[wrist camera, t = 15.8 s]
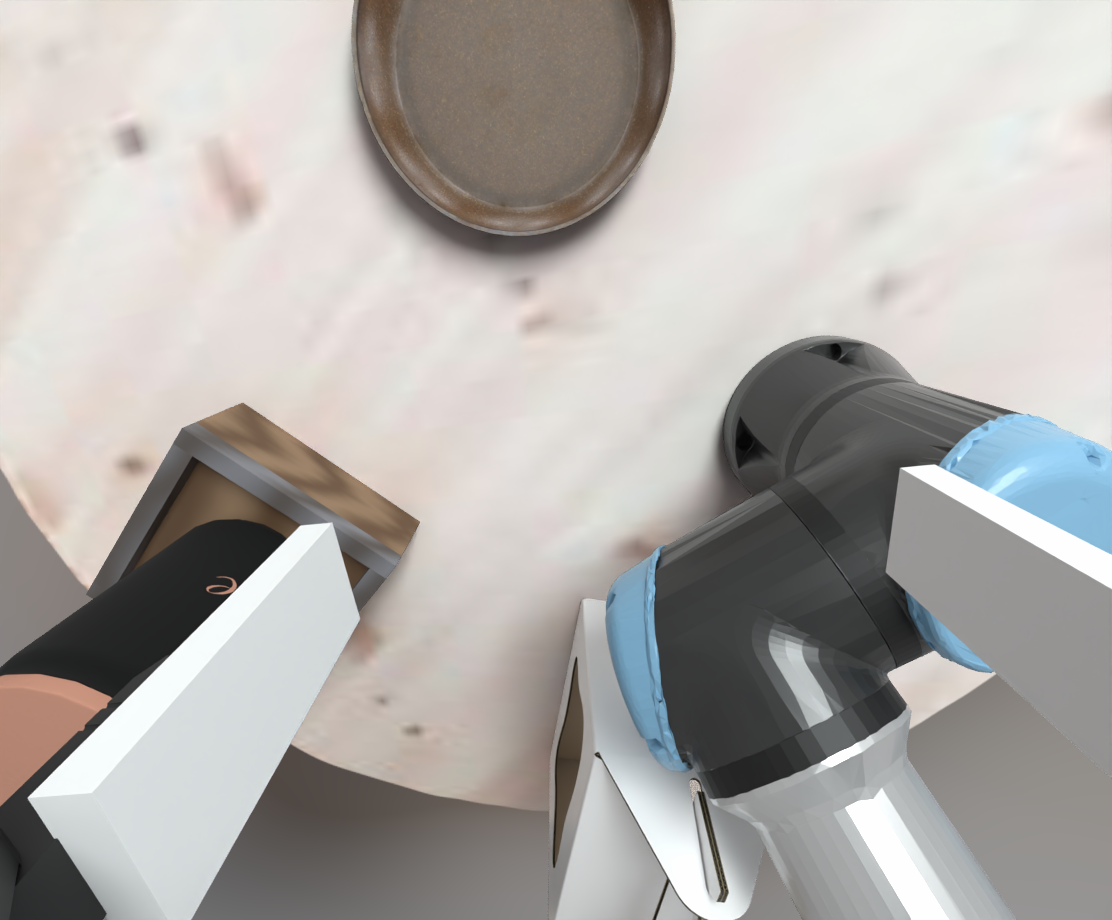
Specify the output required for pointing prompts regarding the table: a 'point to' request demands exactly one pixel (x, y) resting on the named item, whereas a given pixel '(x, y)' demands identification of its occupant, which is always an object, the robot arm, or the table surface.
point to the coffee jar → (119, 640)
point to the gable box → (632, 812)
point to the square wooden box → (259, 499)
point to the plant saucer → (514, 101)
